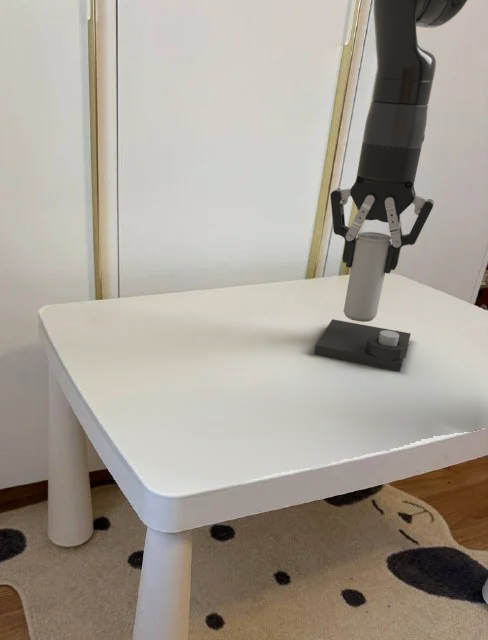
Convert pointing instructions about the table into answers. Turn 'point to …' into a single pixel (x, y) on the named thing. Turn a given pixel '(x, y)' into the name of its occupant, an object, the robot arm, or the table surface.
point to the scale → (361, 345)
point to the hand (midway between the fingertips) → (368, 268)
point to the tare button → (388, 338)
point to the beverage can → (366, 276)
